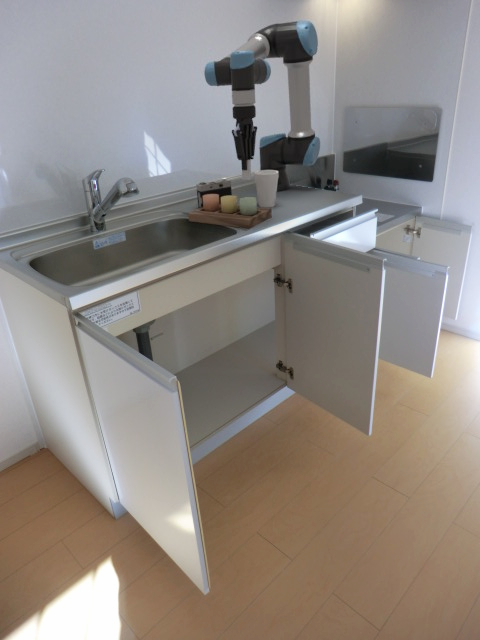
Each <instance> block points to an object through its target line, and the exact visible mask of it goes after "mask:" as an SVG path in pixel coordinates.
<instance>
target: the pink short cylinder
mask: <svg viewBox="0 0 480 640" xmlns="http://www.w3.org/2000/svg"><path fill="white" fill-rule="evenodd" d="M203 207H204V210H205V211H216V210H219V209H220V205H219V195H218V194H207V195H203Z"/></svg>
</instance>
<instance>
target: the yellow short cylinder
mask: <svg viewBox="0 0 480 640" xmlns="http://www.w3.org/2000/svg"><path fill="white" fill-rule="evenodd" d="M238 206H239V205H238V196H237V195H233V194H232V195H229V196H223V197H221V210H222V212H223V213H234V212H237V211H238Z"/></svg>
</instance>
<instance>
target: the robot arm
mask: <svg viewBox="0 0 480 640" xmlns="http://www.w3.org/2000/svg"><path fill="white" fill-rule="evenodd" d="M318 47H319V40H318V34H317V30H316V27H315V25H314V24H313V22H311V21H309V20H298V21H290V22H289V21H288V22H283V23H282V22H281V23H274V24H269V25H267V26H265V27H263V28H261V29H259V30H258V31H256V32H254V33H253V34H252V35H250V36H249V37H248V39H247V41H246V42H245V43H243V44H242V45H240V46H239V47H237V48H236V49H235V50H234V51H231V53H229V54H228V55H226V56H225V57H223V58H222V59H221V60H218V61H210V62H207V63H206V64H205V67H204V71H203V72H204V78H205V82H206V83H207V84H208V85H209V86H211V87H222V86H223V87H224V86H231V100H232V105H233V107H232V118H233V119H235V120H236V121H235V128H234V129H232V130H231V134H232V137H233V142H234V147H235V153H236V158H237V159H238V161H241V177H242V178H241V179H242V180H243V181H250V180H252V168H251V167H252V165H251V164H252V163H251V162H252V160H254V158H255V152H256V140H257V139H256V138H257V131H258V126H255V125H254V120H253V119H255V118H256V116H257V111H256V105H255V104H256V88H255V86H256V85H262V84H264V83H266V82H268V80H269V79H270V77H271V73H272V69H271V68H272V67H271V65H270V63H269V62H268V61H267V60H266V59H277V58H278V59H282V64H283V65H284V66H285V67H286V68H287V85H288V86H287V87H288V99H289V101H288V103H289V117H290V130H289V131H288V133H285V132H284V133H283V132H282V133H276V134H270V135H269V134H268V135H265V136H262V137H261V138H260V139H259V148H258V149H259V165H260V167H259V168H260V170H259V171H261V170H276V171H278V173H279V178H278V183H277V192H281V191H286V190H289V189H290V188H291V183H290V179H289V175H288V173H287V172H288V171H287V166H303V167H304V166H313V165H314V164H315V163H316V162H317V160H318V158H319V154H320V148H321V140H320V137H319V136H316V131H315V130H314V129H313V128H312V114H311V113H312V112H311V111H312V110H311V108H312V107H311V86H310V85H311V82H310V81H311V80H310V79H311V78H310V64H312V62H313V60H314V56H315V55H317V53H318ZM286 134H287V135H286Z"/></svg>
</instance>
